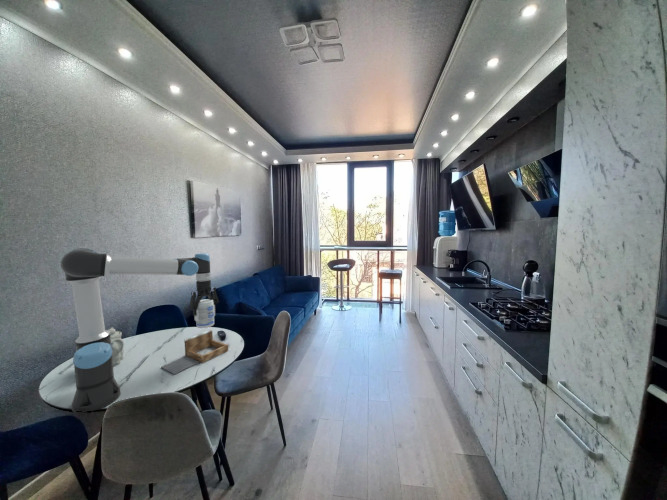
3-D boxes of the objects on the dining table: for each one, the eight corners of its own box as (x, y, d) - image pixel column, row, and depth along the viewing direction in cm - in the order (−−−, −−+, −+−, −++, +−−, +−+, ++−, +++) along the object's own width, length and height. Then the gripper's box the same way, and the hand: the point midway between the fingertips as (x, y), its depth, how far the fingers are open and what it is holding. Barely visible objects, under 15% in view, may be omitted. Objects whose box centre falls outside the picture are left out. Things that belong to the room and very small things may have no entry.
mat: (174, 374, 126) (174, 373, 126) (161, 367, 133) (161, 366, 133) (199, 363, 138) (199, 361, 138) (185, 357, 144) (185, 356, 144)
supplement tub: (212, 327, 144) (211, 302, 143) (194, 329, 142) (192, 304, 140) (216, 322, 153) (215, 298, 152) (199, 323, 151) (197, 299, 150)
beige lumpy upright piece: (104, 373, 128) (101, 338, 126) (81, 370, 131) (78, 335, 129) (136, 357, 144) (133, 325, 143) (114, 355, 147) (112, 324, 146)
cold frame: (202, 363, 138) (201, 346, 137) (185, 355, 146) (184, 339, 145) (228, 350, 152) (227, 335, 151) (211, 344, 160) (210, 329, 159)
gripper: (187, 284, 134) (190, 325, 136) (224, 277, 153) (225, 313, 155) (180, 282, 138) (182, 322, 139) (216, 276, 157) (218, 311, 158)
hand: (205, 317), depth 147 cm, fingers closed on supplement tub, 9 cm apart
